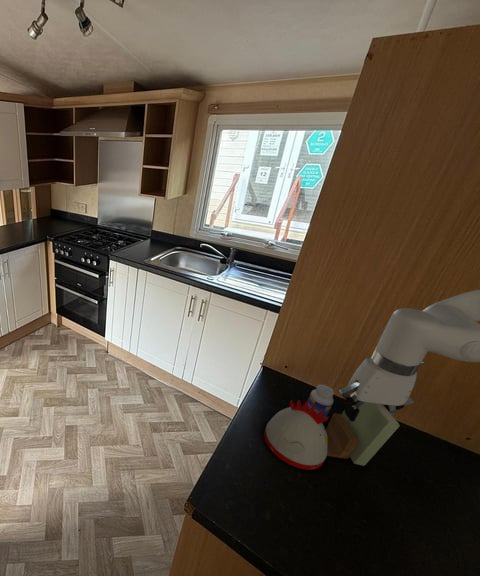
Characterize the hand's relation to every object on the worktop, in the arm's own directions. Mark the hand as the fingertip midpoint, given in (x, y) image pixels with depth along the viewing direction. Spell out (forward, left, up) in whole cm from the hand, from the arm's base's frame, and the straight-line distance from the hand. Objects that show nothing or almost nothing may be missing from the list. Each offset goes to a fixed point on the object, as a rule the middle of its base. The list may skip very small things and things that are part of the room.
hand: (363, 418), depth 77 cm
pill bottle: (+4, -10, -11) cm, 15 cm away
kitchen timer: (+14, +2, -11) cm, 18 cm away
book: (-2, 0, -3) cm, 3 cm away
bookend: (+5, 0, -11) cm, 11 cm away
